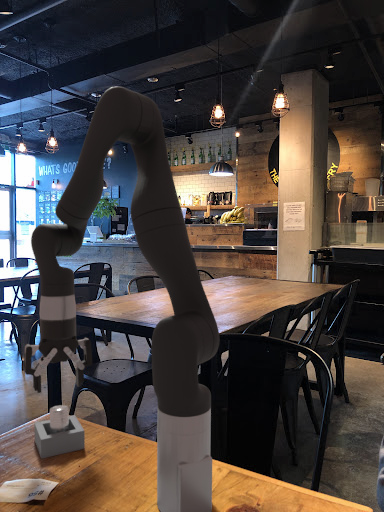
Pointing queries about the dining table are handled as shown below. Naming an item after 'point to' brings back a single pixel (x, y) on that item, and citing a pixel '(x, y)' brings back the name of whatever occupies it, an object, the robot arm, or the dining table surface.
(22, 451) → the dining table surface
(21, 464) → the dining table surface
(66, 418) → the peg
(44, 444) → the box
